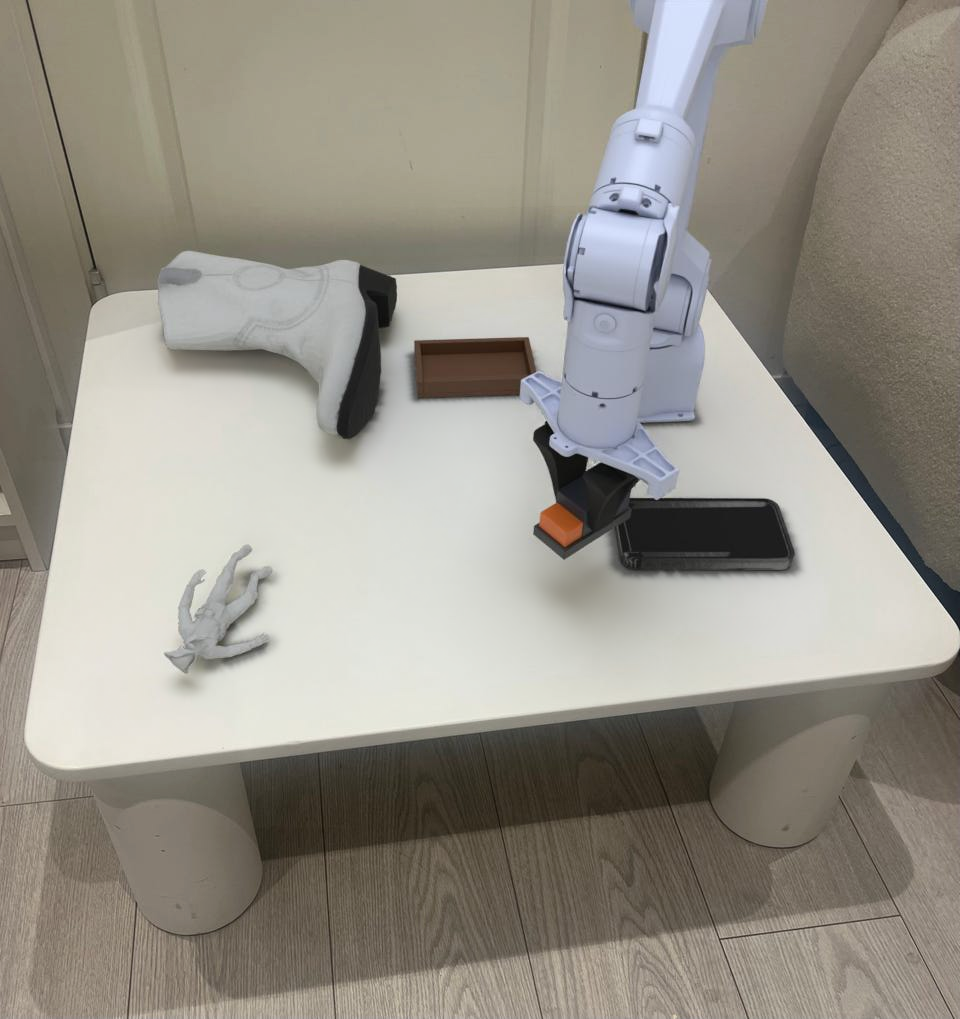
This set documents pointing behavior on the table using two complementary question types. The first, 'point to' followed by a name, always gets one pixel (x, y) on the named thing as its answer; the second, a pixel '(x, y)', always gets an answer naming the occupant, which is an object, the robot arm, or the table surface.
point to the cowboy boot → (287, 322)
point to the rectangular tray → (472, 366)
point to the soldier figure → (215, 616)
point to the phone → (704, 535)
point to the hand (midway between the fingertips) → (583, 511)
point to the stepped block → (573, 520)
